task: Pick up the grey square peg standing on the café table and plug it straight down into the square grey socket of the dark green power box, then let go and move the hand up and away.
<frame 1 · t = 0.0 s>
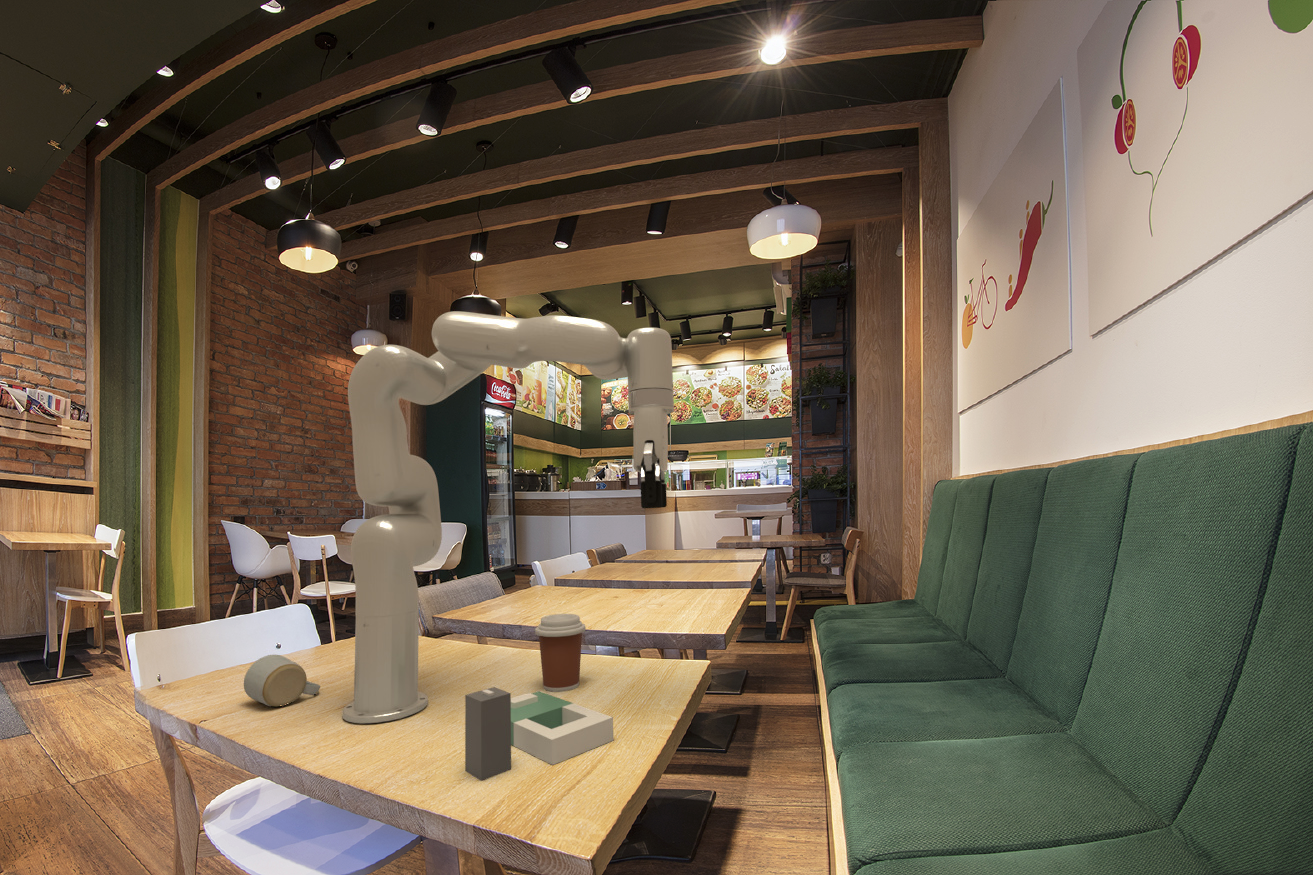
hand: (654, 507, 95), 31 cm above the table, tool pointing down, fingers open, 9 cm apart
coffee cup: (561, 687, 105), on the table
ceramic mug: (284, 702, 102), on the table
grey square peg: (488, 770, 72), on the table
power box: (544, 734, 83), on the table
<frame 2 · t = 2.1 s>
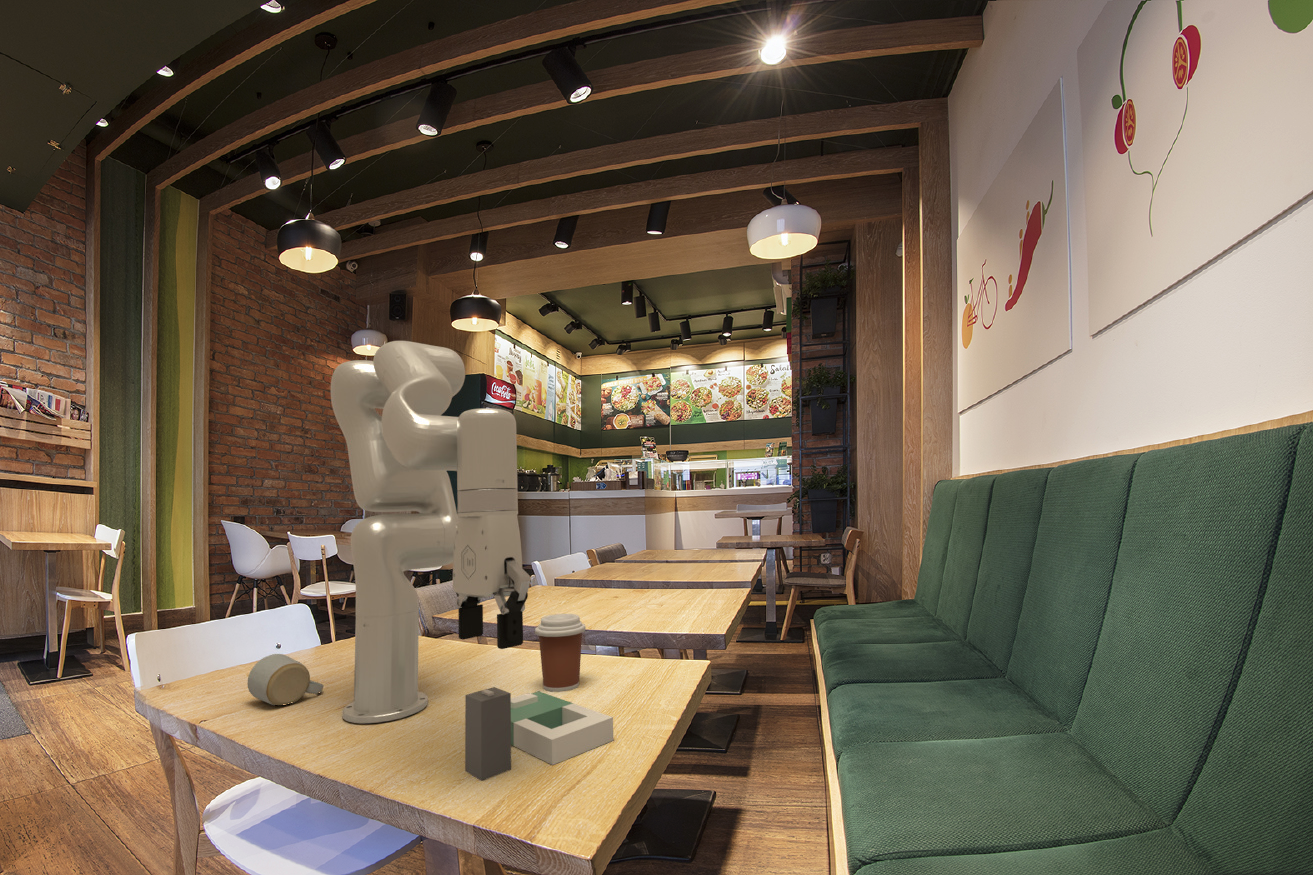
hand: (489, 641, 74), 15 cm above the table, tool pointing down, fingers open, 9 cm apart
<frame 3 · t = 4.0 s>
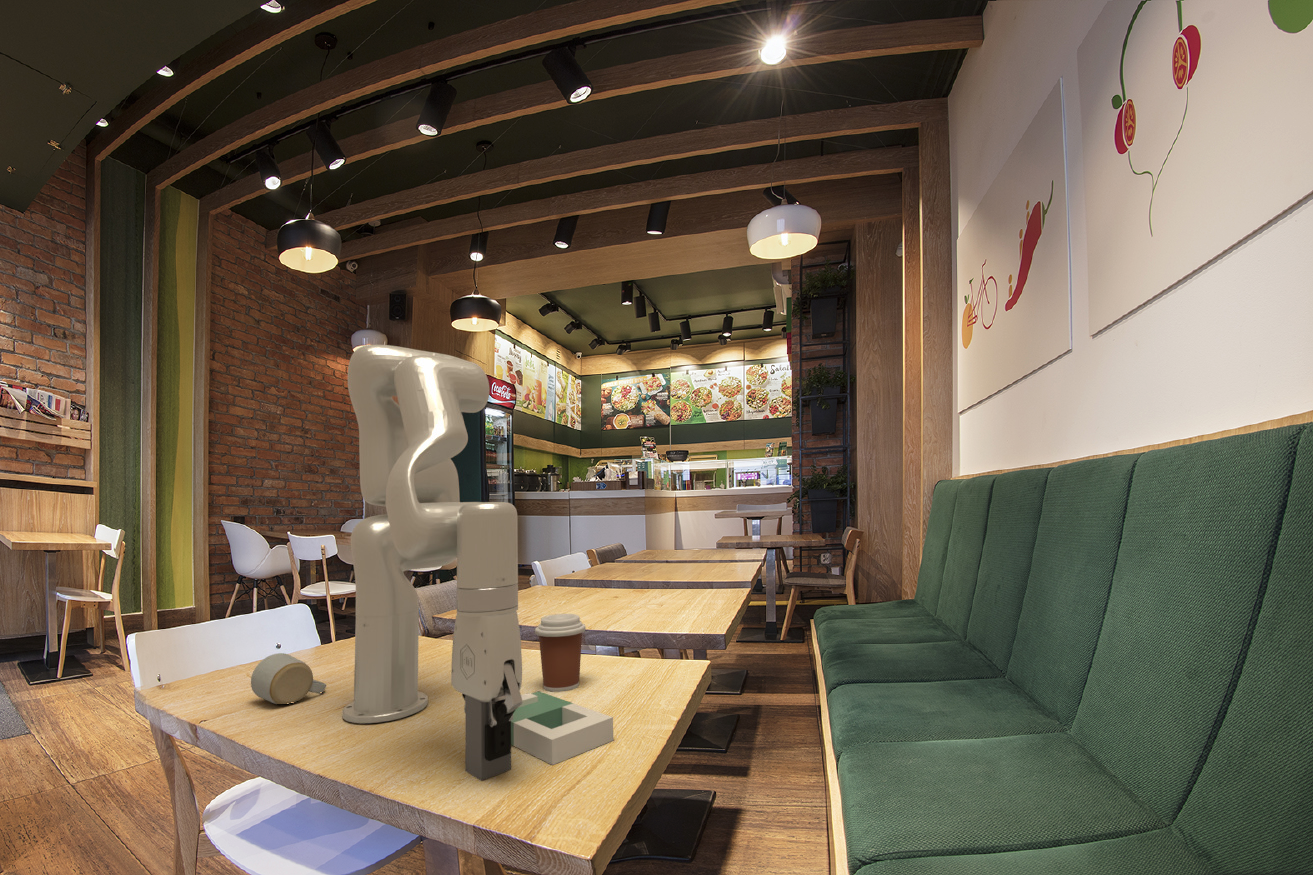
hand: (488, 749, 72), 2 cm above the table, tool pointing down, fingers closed on grey square peg, 4 cm apart
grey square peg: (488, 769, 72), on the table, touching gripper
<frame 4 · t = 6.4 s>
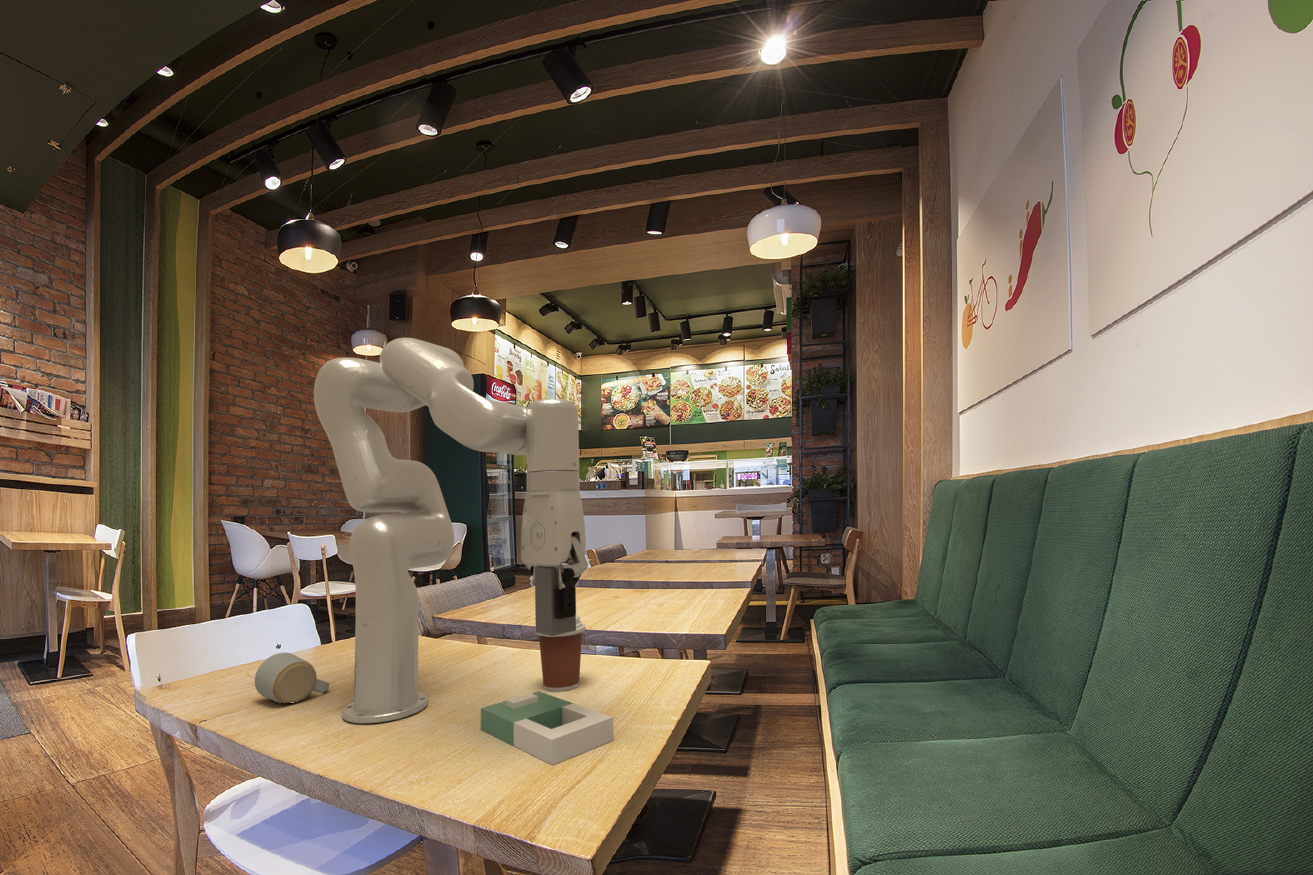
hand: (555, 614, 83), 17 cm above the table, tool pointing down, fingers closed on grey square peg, 4 cm apart
grey square peg: (555, 631, 82), point 15 cm above the table, touching gripper
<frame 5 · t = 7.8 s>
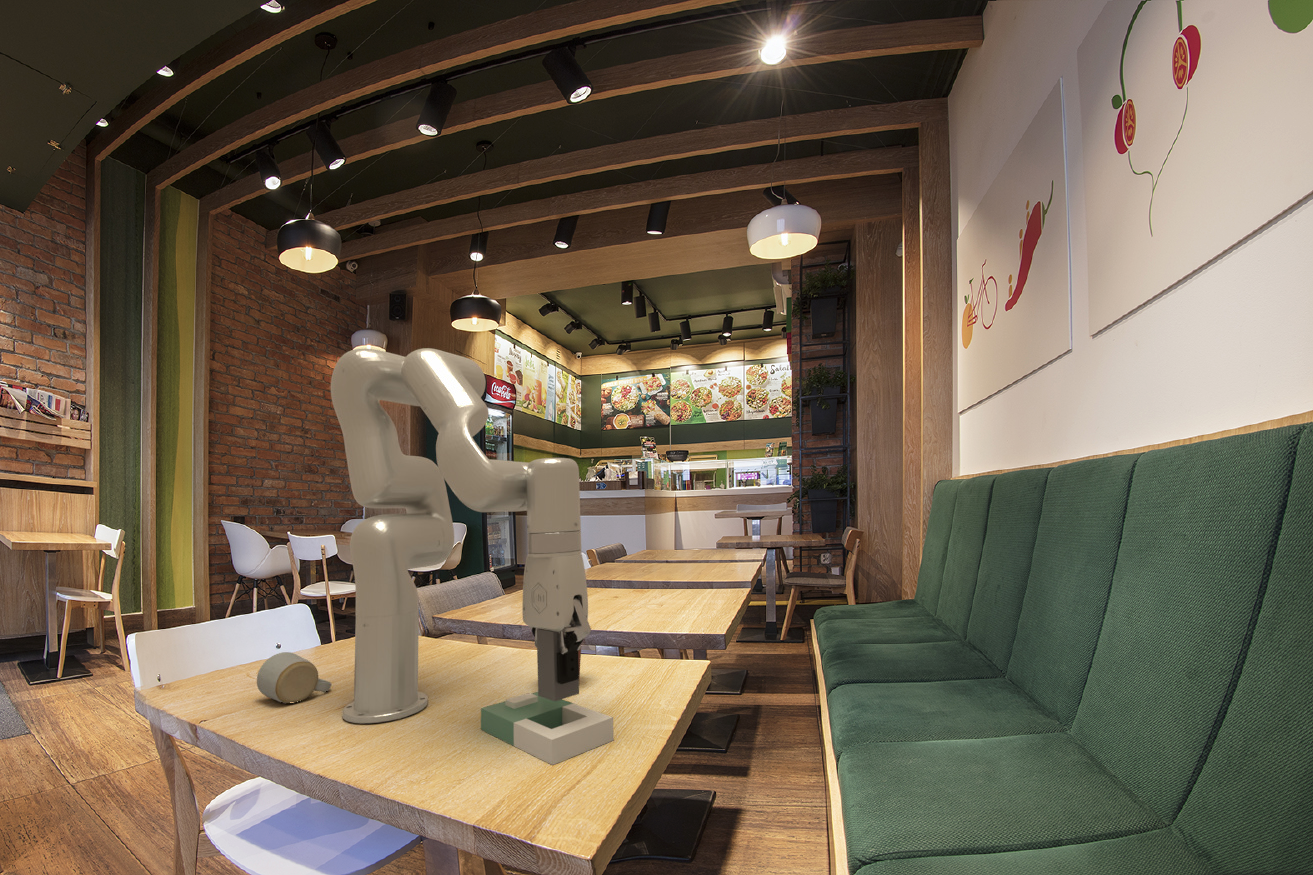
hand: (558, 677, 81), 8 cm above the table, tool pointing down, fingers closed on grey square peg, 4 cm apart
grey square peg: (558, 694, 81), point 6 cm above the table, touching gripper
when the fingers open (4 cm above the table, at t = 9.0 s): grey square peg drops 2 cm, resting in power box.
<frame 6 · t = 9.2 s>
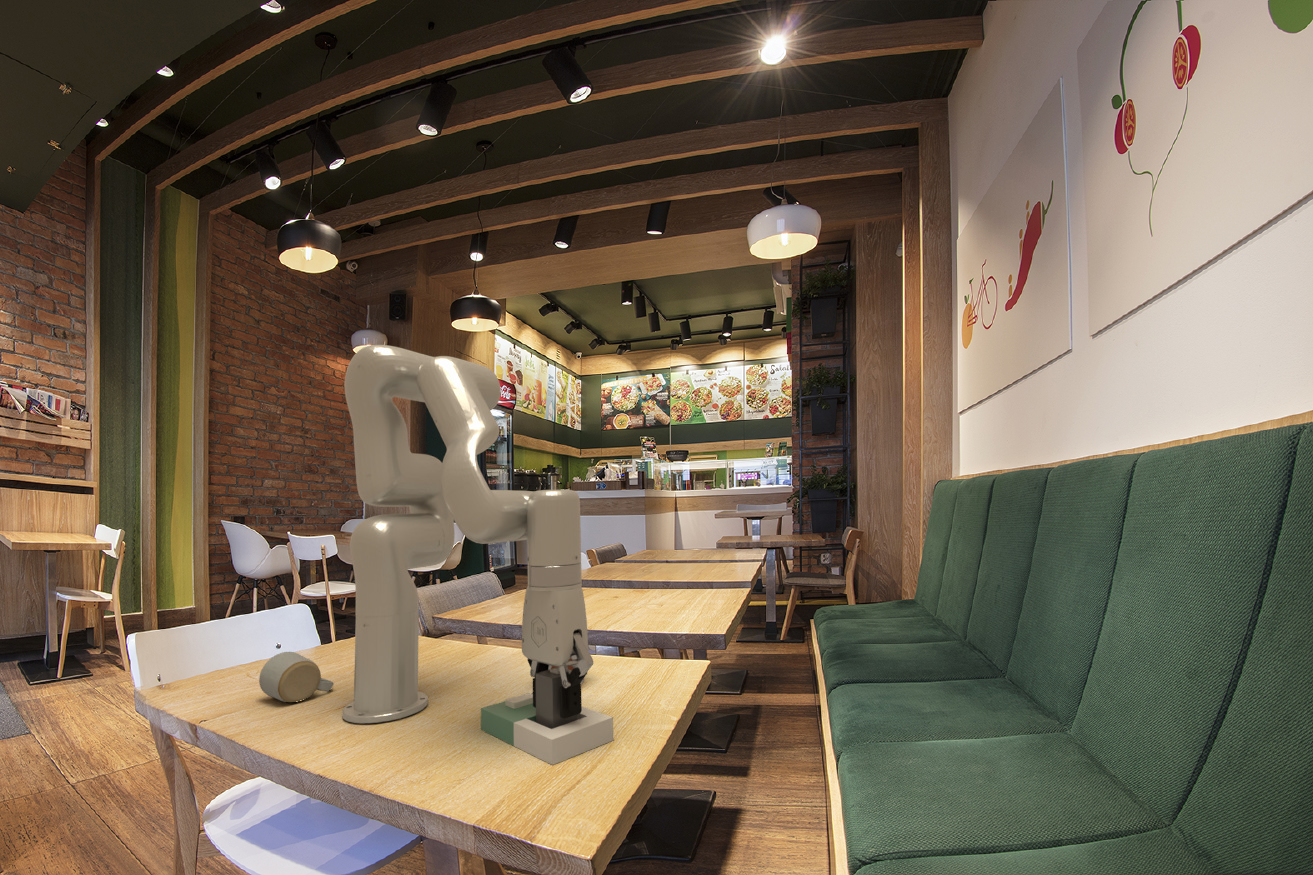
hand: (556, 708, 81), 4 cm above the table, tool pointing down, fingers open, 5 cm apart
grey square peg: (556, 740, 81), resting in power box
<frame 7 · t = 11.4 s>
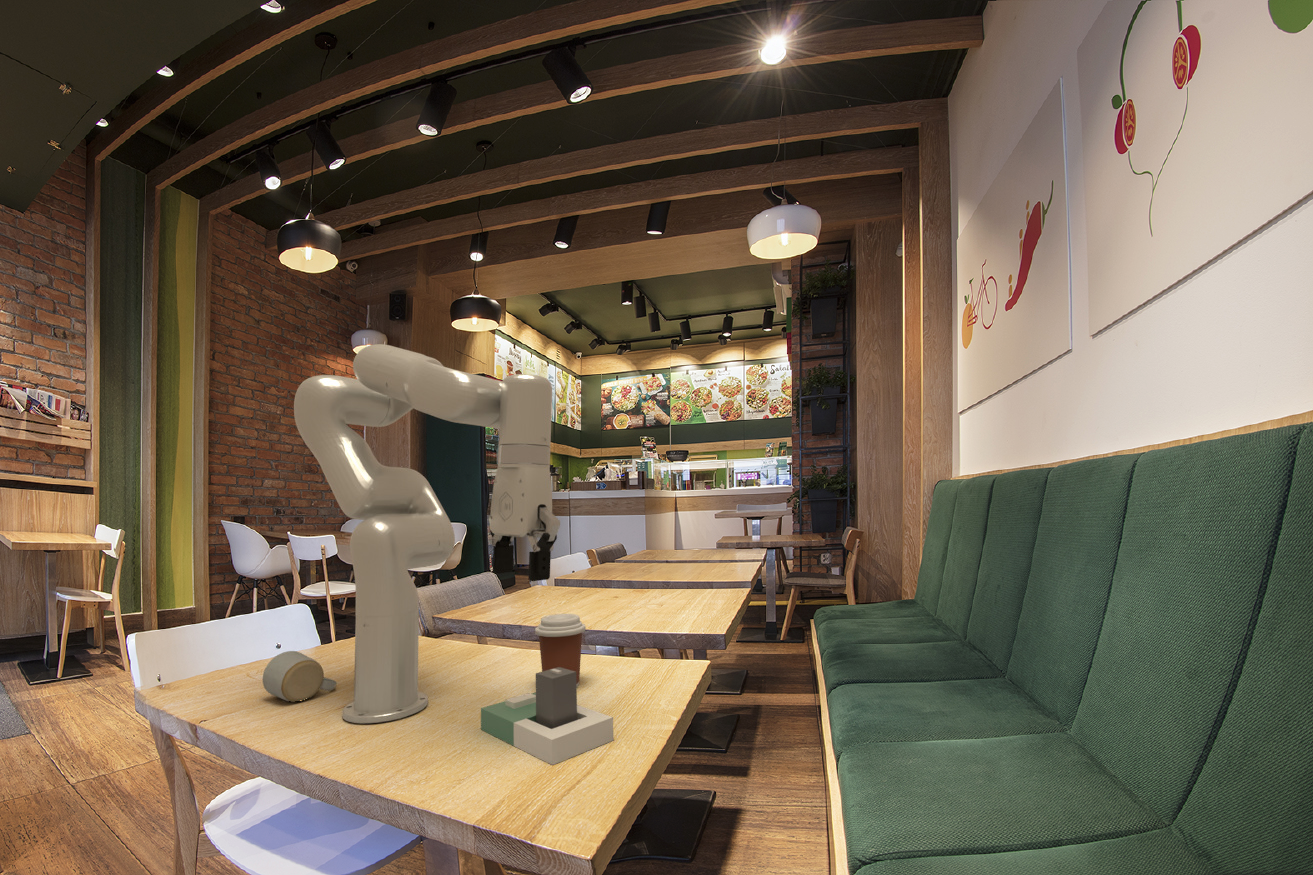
hand: (520, 575, 85), 22 cm above the table, tool pointing down, fingers open, 9 cm apart
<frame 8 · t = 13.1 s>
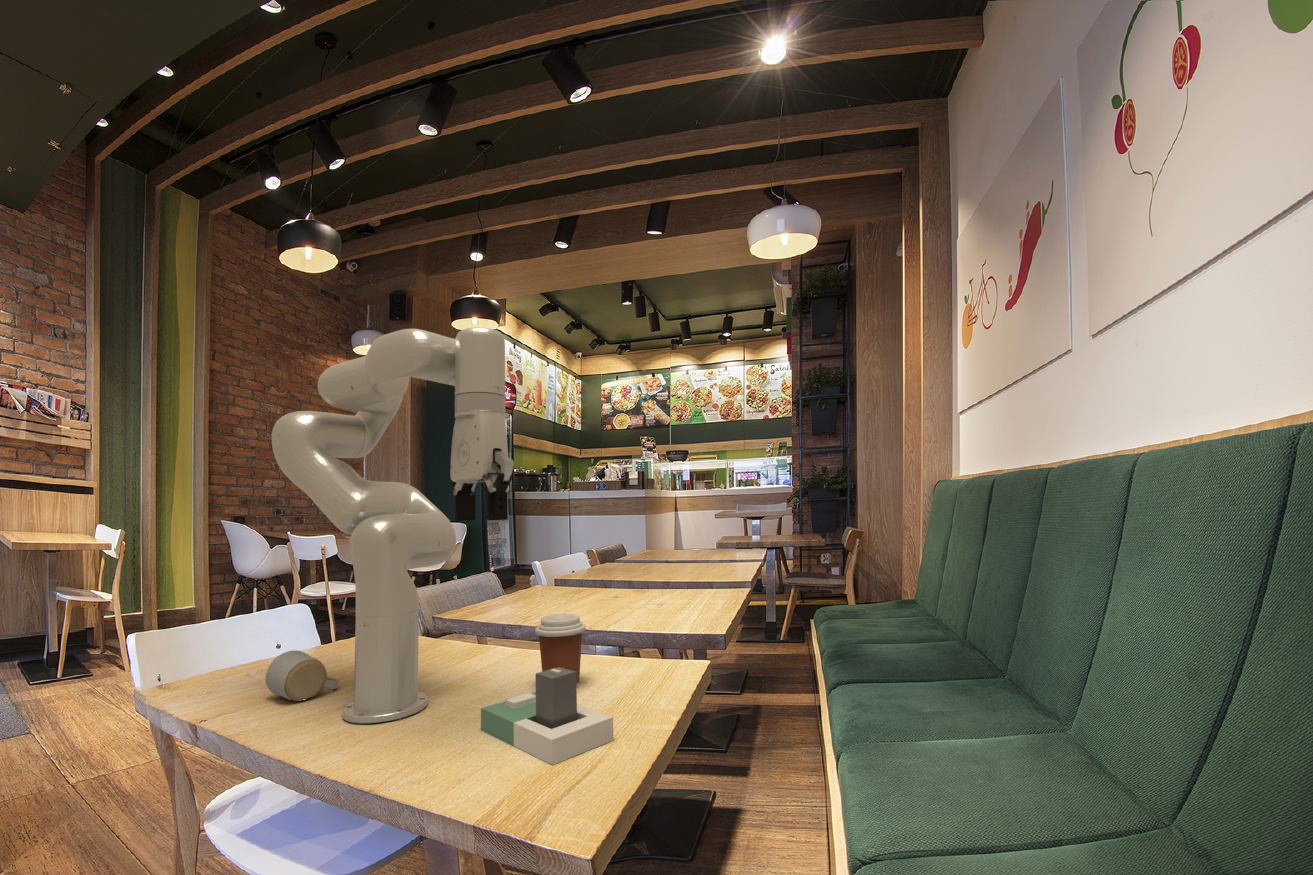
hand: (480, 520, 89), 30 cm above the table, tool pointing down, fingers open, 9 cm apart
at the end: grey square peg 0.1 cm from the target spot on the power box, point 0.0 cm above the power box's base; grey square peg tilted 0°; the gripper is holding nothing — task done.
